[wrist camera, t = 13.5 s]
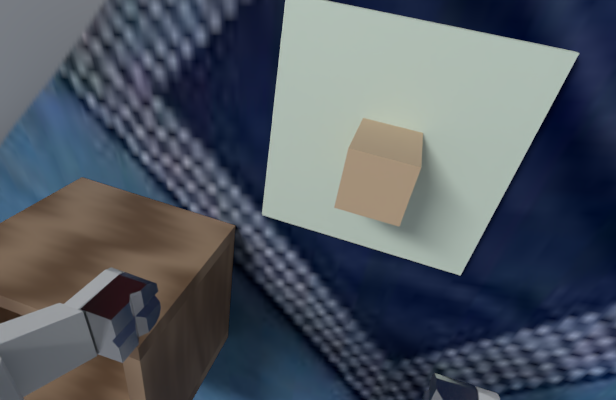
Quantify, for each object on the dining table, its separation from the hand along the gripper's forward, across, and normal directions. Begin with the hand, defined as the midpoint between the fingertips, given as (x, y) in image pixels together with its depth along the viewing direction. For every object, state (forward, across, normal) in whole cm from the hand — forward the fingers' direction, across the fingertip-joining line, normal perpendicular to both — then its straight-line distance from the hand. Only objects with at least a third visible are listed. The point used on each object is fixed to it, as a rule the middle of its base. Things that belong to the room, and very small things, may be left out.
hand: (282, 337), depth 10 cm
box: (+12, +14, +12) cm, 21 cm away
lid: (+12, -1, -1) cm, 13 cm away
